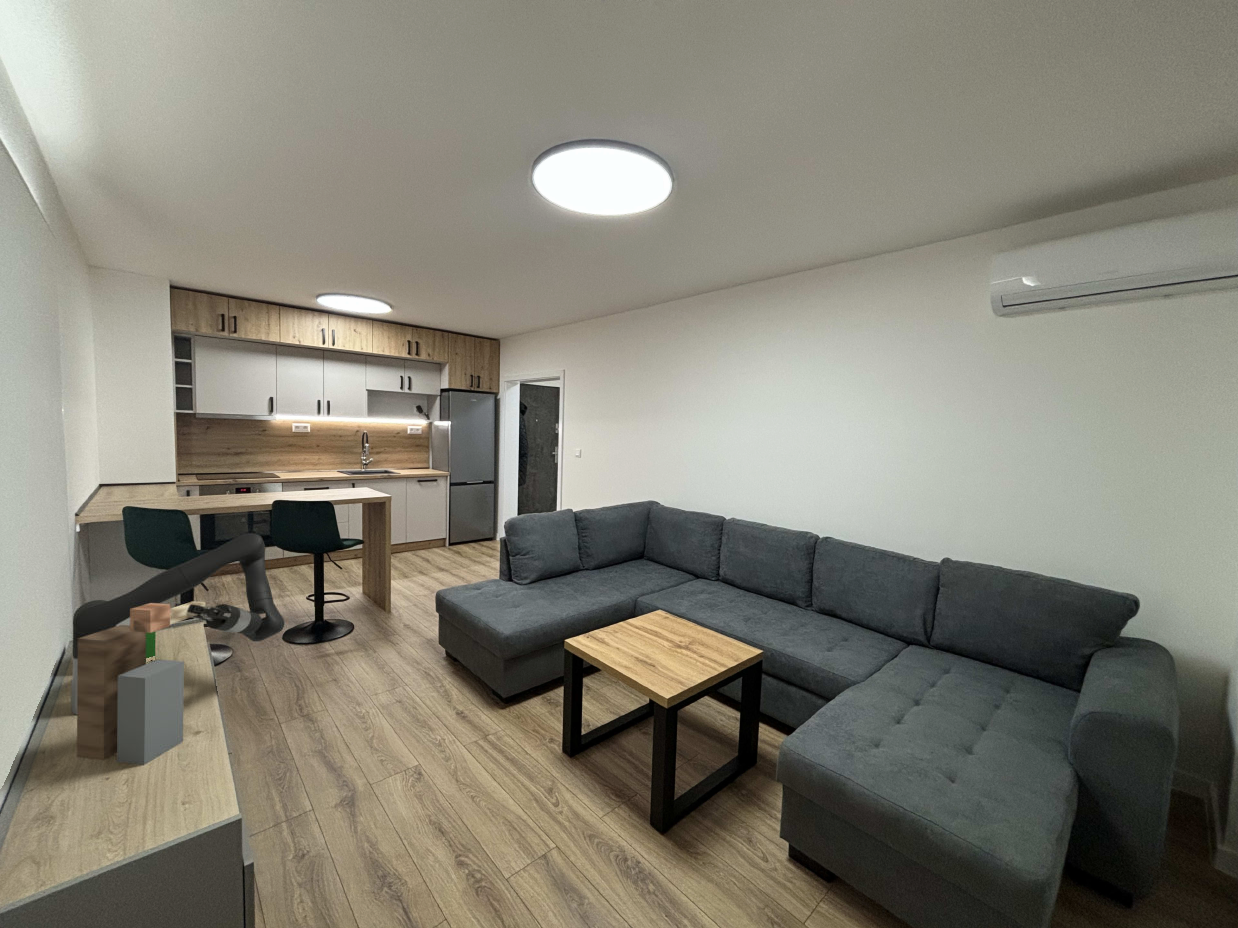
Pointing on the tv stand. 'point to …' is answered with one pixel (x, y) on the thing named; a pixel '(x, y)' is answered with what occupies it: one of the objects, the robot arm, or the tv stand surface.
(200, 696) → the tv stand surface
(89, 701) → the tall stand
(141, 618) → the two-tone block
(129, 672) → the tall grey block
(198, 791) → the tv stand surface
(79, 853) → the tv stand surface
